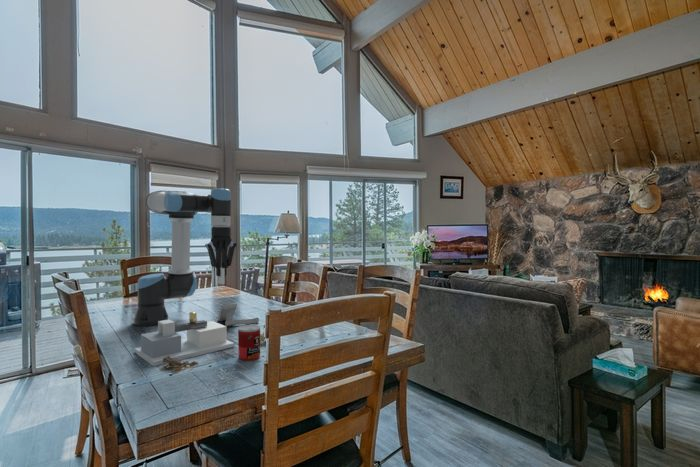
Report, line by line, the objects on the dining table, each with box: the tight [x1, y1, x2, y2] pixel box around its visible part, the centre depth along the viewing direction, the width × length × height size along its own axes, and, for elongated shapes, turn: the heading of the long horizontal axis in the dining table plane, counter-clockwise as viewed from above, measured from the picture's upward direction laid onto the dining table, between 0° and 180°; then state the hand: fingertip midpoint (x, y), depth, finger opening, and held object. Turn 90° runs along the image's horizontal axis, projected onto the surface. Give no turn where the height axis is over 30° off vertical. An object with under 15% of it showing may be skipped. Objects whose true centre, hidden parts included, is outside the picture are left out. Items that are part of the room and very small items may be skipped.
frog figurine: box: [161, 356, 199, 373], centre depth 133 cm, size 12×12×4 cm
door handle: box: [217, 303, 260, 328], centre depth 191 cm, size 18×8×20 cm
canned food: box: [237, 324, 261, 362], centre depth 143 cm, size 8×8×11 cm
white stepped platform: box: [134, 319, 235, 367], centre depth 152 cm, size 20×30×12 cm, turn 135°
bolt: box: [175, 311, 208, 333], centre depth 153 cm, size 3×12×6 cm, turn 135°
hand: (221, 283), depth 162 cm, fingers closed
